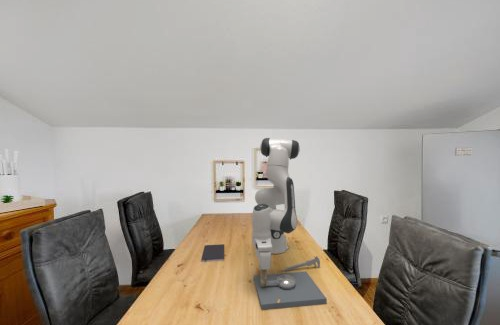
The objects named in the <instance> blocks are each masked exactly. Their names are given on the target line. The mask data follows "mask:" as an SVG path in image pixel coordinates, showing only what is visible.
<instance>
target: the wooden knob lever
mask: <svg viewBox="0 0 500 325" xmlns="http://www.w3.org/2000/svg"><path fill="white" fill-rule="evenodd" d="M260 275H261V287H263V288H264V287H266V286H275V285H278V286H279V287H280V288H282V289H292V288H294V287H295V278H294V277H292V276H290V275H280V276H278V277H277V280H270V281H267V270H262V269H261V271H260Z"/></svg>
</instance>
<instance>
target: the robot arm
mask: <svg viewBox="0 0 500 325" xmlns="http://www.w3.org/2000/svg"><path fill="white" fill-rule="evenodd" d="M259 150H260V153H261V155H262V156H264V157H266V158H267V163H266V172H265V174H266V175H265V176H266V178H267V180H268V182H270V183H271V184H273V187H267V188H264V187H263V188H262V189H258V190H257V191H256V192H255V196H254V200H255V202H256V204H257V205H255V206H254V207H253V209H252V213H251V214H252V215H251V226H252V232H251V241H252V243H251V244H252V246H253V247H254V252H255V254H256V257H257V260H258V265H259V271H260V272H261V269H262V270H270V269H271V266H272V265H271V262H272V255H273V254H275V255H277V254H283V253H285V252H286V251H287V250H289V249H290V247H289V246H288V244H287V236H286V234H290V233H292V232H294V231H295V230H296V229H297V226H298V216H297V213H296V212H297V211H296V200H295V199H296V198H295V196H296V195H295V185H294V181H293V179H292V178H291V177H290V175H289V163H290V162H289V160H290V161H291V160H292V159H296V158H297V157H298V156H299V155H300V150H301V148H300V144H299V142H298V141H297V140H295V139H288V138H277V137H276V138H273V137H272V138H271V137H265V138H263V139H262V140H261V143H260V146H259ZM279 205H284V210H283V209H282V210H281V209H277V206H279Z"/></svg>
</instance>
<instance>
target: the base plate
mask: <svg viewBox="0 0 500 325" xmlns="http://www.w3.org/2000/svg"><path fill="white" fill-rule="evenodd" d="M280 275H290V276H292V277H294V278H295V287H294V288H292V289H282V288H280V287H279V286H278V285H275V286H266V287H264V288H263V287H261V274H255V275H253V282H254V287H255V290H256V293H257V296H258V301H259V305H260V308H261V310H262V311H263V310H274V309H282V308H283V309H285V308H293V307H294V308H296V307H304V306H314V305H315V306H317V305H325V304H326V305H327V302H328V301H327V297H326V296H325V294H324V293H323V292H322V291H321V288H319V286H318V285H317V284H316V283H315V281H314V280H313V278H312V277H311V276H310V274H309V272H307V271H294V272H281V273H268V274H267V281H270V280H277V277H278V276H280Z"/></svg>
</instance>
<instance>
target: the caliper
mask: <svg viewBox="0 0 500 325" xmlns="http://www.w3.org/2000/svg"><path fill="white" fill-rule="evenodd" d="M313 257H314V258H312V259H308V260H306V261H304V262H301V263H297V264H294V265H290V266H287V267H283V269H282V272H289V271H292V270H296V269H299V268H303V267H305V266H307V267H311V266H313V265H314V268H316V269H318V268H321V261H320V257H319V256H318V255H316V256H313Z"/></svg>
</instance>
